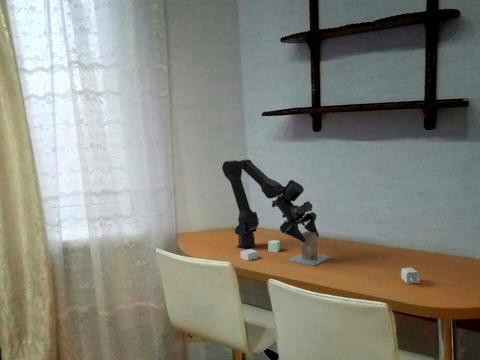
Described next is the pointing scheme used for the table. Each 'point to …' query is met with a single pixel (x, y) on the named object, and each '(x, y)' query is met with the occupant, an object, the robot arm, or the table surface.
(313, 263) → the slate coaster
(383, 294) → the table surface
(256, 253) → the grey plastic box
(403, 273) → the usb wall charger
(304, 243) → the walnut pillar
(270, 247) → the pale green cube
